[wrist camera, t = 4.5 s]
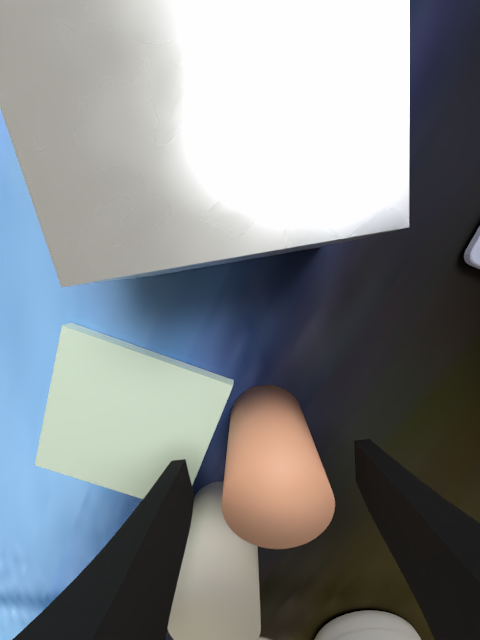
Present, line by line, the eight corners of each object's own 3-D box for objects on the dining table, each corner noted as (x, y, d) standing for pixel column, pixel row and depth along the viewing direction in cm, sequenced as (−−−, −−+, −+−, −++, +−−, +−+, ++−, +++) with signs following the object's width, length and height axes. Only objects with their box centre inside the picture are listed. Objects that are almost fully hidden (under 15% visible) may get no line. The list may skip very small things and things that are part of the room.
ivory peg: (265, 493, 14) (275, 610, 9) (242, 538, 15) (241, 666, 10) (204, 473, 14) (182, 582, 9) (185, 520, 15) (155, 642, 10)
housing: (318, 93, 9) (436, -183, 4) (330, 245, 11) (428, 223, 5) (111, 137, 10) (-77, -39, 4) (146, 277, 11) (41, 290, 6)
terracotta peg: (313, 399, 13) (355, 482, 8) (284, 455, 14) (306, 561, 9) (245, 375, 13) (245, 445, 8) (220, 433, 13) (206, 530, 9)
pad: (233, 380, 13) (233, 385, 12) (184, 501, 15) (181, 511, 14) (71, 322, 12) (62, 325, 11) (43, 456, 14) (34, 465, 13)
